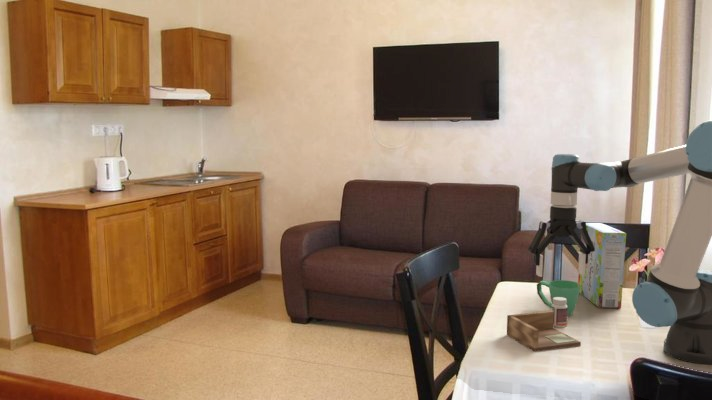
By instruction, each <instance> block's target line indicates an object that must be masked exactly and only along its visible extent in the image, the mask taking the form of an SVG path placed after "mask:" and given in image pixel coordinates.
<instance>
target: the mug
mask: <svg viewBox="0 0 712 400" xmlns="http://www.w3.org/2000/svg"><path fill="white" fill-rule="evenodd" d="M542 286H545V287H547V288H549V289H548V290H549V294H550V300H551V301H548V299H547V297H546V296H545V294H544V292H543V290H542ZM580 288H581V285H580V284H579V286H578V282H577V281H571V280H565V279H564V280H563V279H562V280H561V279H557V280H551V281H546V280H540V281H539V282H537V284H536V291H537V292H536V293H537V296H538V297H539V298H540V299H541V301H542V302H543V304H544V305H545V306H547V307H549V308H550V309H551V305H552V304H553V298H554V297H563V298H566V299H567V303H566V305H567V306H568V310H567V317H571V316H572V314H573V312H574V310H575V308H576V305H577V302H578V298H579V295H580V293H579V292H580Z"/></svg>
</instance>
